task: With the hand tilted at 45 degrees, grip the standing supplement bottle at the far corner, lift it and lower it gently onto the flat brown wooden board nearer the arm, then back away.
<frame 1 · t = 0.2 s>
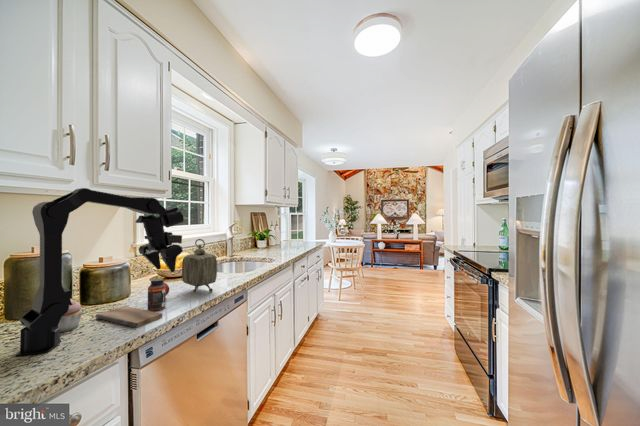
hand: (166, 270, 100), 15 cm above the countertop, tool tilted 15°, fingers open, 9 cm apart
cupcake: (64, 329, 83), on the countertop
tabletop clock: (198, 292, 125), on the countertop
onion: (161, 299, 113), on the countertop
brown wooden board: (129, 317, 92), on the countertop
supplement bottle: (156, 309, 101), on the countertop
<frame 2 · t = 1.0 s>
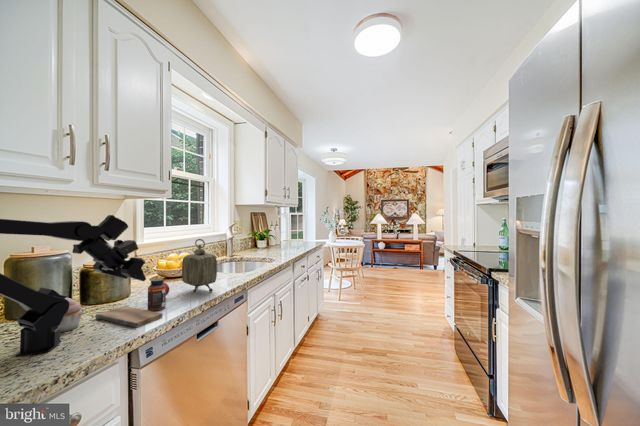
hand: (135, 278, 94), 13 cm above the countertop, tool tilted 45°, fingers open, 9 cm apart
nothing on the countertop moved.
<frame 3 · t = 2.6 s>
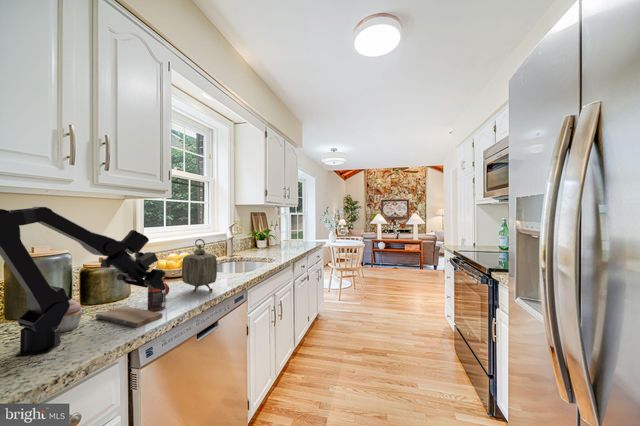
hand: (155, 287, 101), 8 cm above the countertop, tool tilted 45°, fingers open, 9 cm apart
nothing on the countertop moved.
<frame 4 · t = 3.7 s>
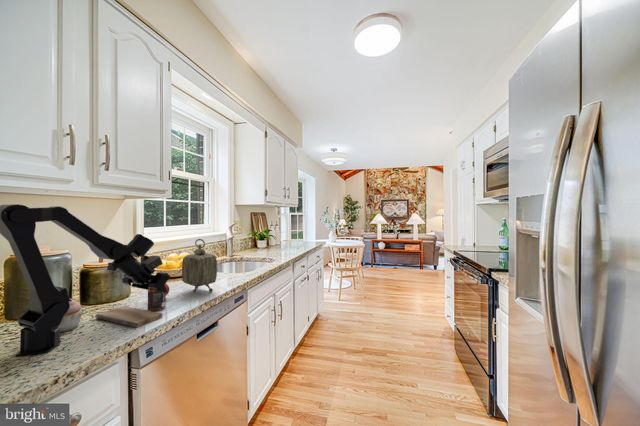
hand: (160, 290, 103), 7 cm above the countertop, tool tilted 45°, fingers closed on supplement bottle, 6 cm apart
supplement bottle: (156, 309, 101), on the countertop, touching gripper
everything else where it was.
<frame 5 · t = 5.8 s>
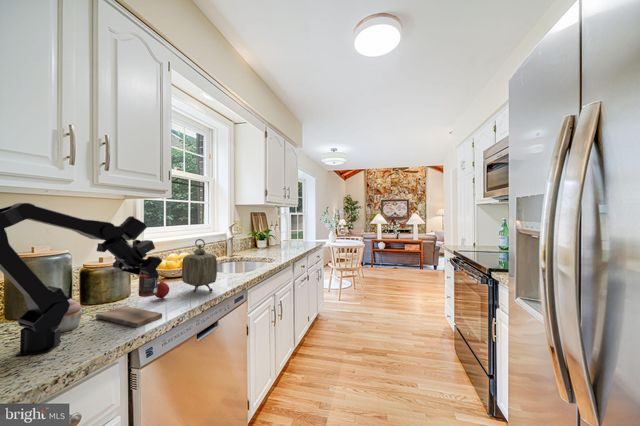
hand: (152, 276, 100), 13 cm above the countertop, tool tilted 45°, fingers closed on supplement bottle, 6 cm apart
supplement bottle: (148, 295, 98), point 6 cm above the countertop, touching gripper
everything else where it was.
when the fingers open (9 cm above the countertop, at t = 7.8 s): supplement bottle stays where it is, resting on brown wooden board.
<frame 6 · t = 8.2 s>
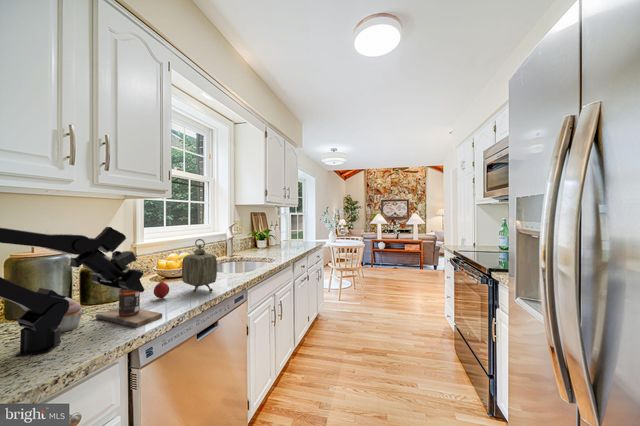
hand: (134, 289, 94), 10 cm above the countertop, tool tilted 45°, fingers open, 9 cm apart
supplement bottle: (129, 314, 92), point 1 cm above the countertop, touching brown wooden board
everything else where it was.
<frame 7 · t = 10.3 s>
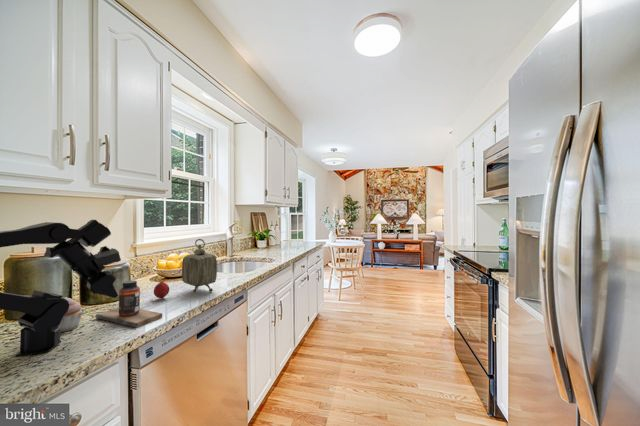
hand: (111, 291, 87), 11 cm above the countertop, tool tilted 35°, fingers open, 9 cm apart
nothing on the countertop moved.
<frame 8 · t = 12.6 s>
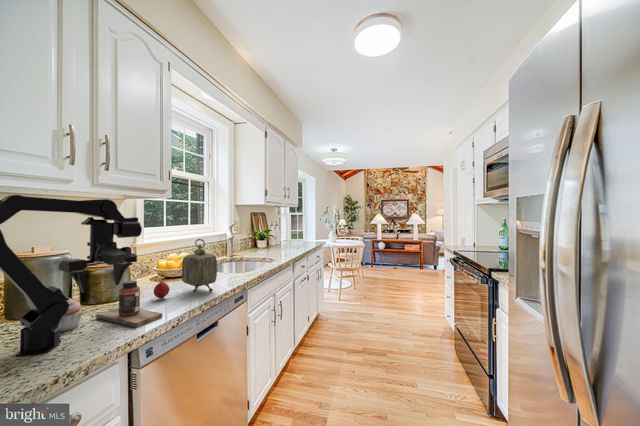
hand: (101, 288, 83), 13 cm above the countertop, tool pointing down, fingers open, 9 cm apart
nothing on the countertop moved.
at the end: supplement bottle inside the target area on the brown wooden board (0.2 cm from its centre), point 1.3 cm above the brown wooden board's base; supplement bottle tilted 0°; the gripper is holding nothing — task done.
